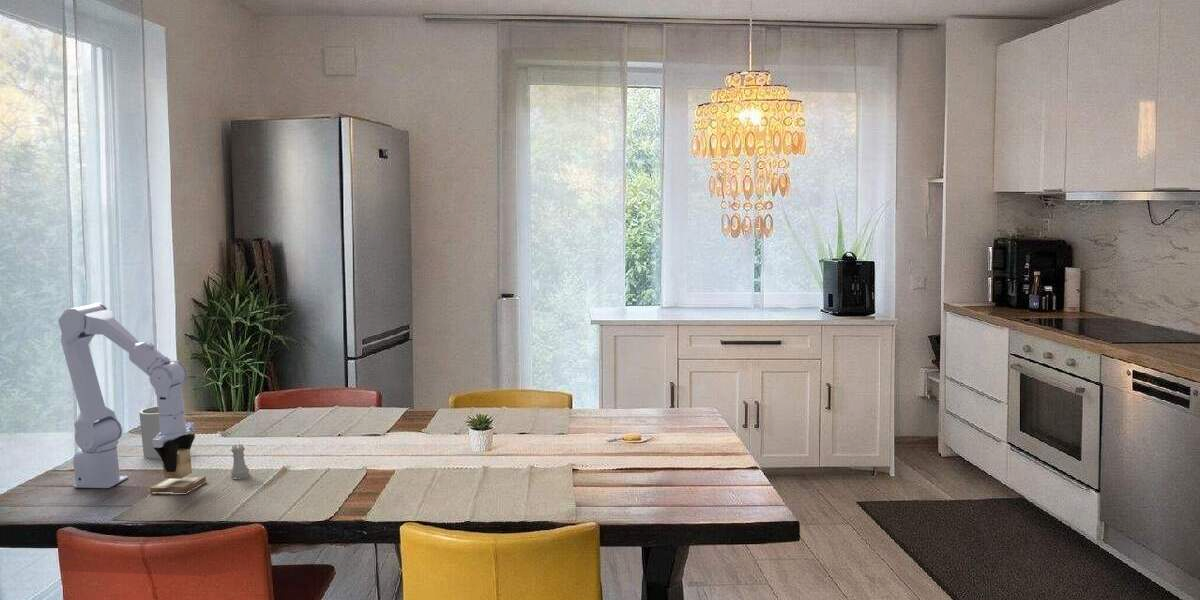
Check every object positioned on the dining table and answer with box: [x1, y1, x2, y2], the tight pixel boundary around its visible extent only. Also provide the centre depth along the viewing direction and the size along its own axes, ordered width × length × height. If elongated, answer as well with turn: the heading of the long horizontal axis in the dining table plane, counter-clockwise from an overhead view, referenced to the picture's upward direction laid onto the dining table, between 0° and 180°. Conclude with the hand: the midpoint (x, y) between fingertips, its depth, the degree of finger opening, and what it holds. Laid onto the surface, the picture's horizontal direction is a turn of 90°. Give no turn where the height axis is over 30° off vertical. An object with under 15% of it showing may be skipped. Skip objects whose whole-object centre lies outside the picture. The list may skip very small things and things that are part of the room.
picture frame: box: [149, 475, 207, 494], centre depth 243 cm, size 9×9×2 cm
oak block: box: [162, 449, 193, 479], centre depth 242 cm, size 4×4×6 cm
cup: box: [138, 405, 161, 459], centre depth 272 cm, size 9×9×12 cm
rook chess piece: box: [230, 443, 250, 480], centre depth 250 cm, size 4×4×8 cm
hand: (177, 468), depth 242 cm, fingers closed on oak block, 4 cm apart
